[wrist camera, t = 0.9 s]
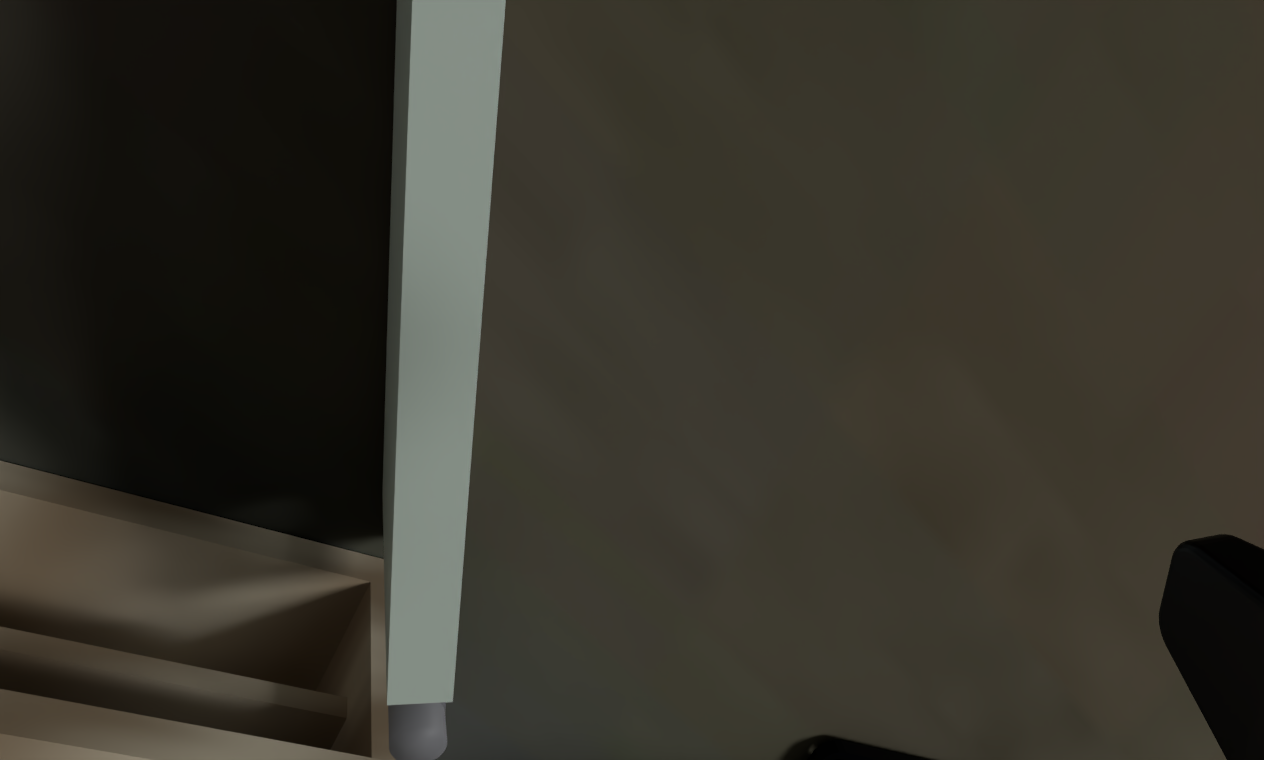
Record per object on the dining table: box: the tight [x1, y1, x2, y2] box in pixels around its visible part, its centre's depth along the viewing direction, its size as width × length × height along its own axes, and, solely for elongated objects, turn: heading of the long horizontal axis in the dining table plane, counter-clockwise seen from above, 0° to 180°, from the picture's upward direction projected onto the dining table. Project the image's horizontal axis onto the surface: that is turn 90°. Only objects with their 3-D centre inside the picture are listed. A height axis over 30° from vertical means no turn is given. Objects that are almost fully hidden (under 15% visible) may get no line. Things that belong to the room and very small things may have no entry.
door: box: [382, 0, 506, 760], centre depth 17 cm, size 15×1×6 cm, turn 172°
